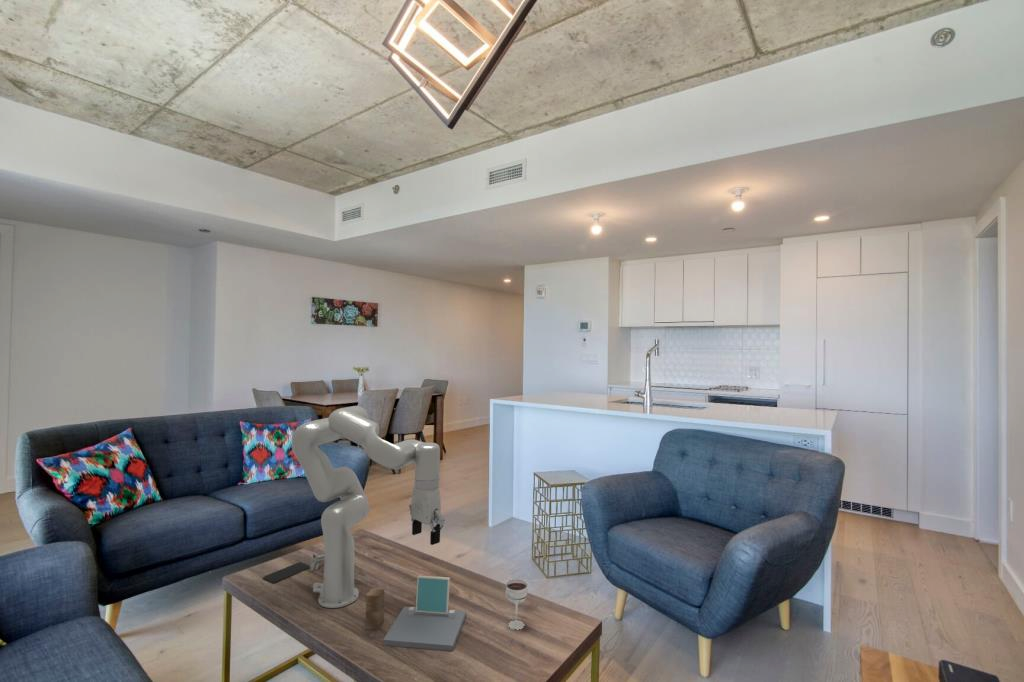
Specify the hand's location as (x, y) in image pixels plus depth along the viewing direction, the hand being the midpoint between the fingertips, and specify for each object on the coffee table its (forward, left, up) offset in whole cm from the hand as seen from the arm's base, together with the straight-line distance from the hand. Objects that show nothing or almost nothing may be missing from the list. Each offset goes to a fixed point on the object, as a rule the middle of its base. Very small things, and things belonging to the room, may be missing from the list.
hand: (425, 538), depth 147 cm
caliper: (-46, +31, -25) cm, 61 cm away
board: (+3, -7, -24) cm, 25 cm away
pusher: (-13, -7, -24) cm, 28 cm away
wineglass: (+29, -1, -24) cm, 38 cm away
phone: (-58, +20, -25) cm, 67 cm away
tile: (+3, 0, -17) cm, 17 cm away
